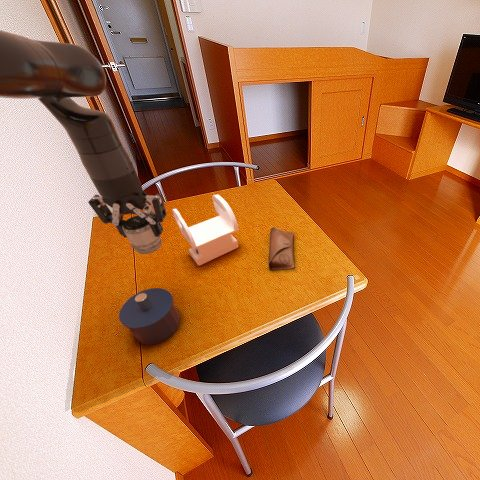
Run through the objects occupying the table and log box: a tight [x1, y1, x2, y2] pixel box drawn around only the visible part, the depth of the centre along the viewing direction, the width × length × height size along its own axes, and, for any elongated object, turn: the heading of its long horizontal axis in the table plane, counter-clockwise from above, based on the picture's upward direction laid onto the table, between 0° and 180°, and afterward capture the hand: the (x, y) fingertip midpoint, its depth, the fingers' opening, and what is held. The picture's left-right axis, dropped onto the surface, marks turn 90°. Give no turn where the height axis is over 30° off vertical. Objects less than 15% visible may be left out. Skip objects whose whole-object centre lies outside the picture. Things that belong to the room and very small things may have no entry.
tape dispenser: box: [171, 193, 240, 267], centre depth 86 cm, size 14×13×18 cm
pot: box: [128, 302, 181, 345], centre depth 67 cm, size 10×10×8 cm
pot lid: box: [118, 287, 174, 329], centre depth 64 cm, size 11×11×5 cm
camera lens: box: [122, 214, 163, 255], centre depth 64 cm, size 6×6×8 cm
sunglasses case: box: [268, 226, 296, 271], centre depth 91 cm, size 18×7×7 cm
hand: (143, 234), depth 65 cm, fingers closed on camera lens, 6 cm apart
